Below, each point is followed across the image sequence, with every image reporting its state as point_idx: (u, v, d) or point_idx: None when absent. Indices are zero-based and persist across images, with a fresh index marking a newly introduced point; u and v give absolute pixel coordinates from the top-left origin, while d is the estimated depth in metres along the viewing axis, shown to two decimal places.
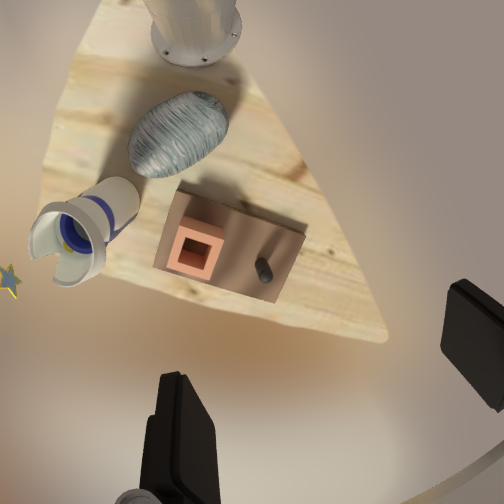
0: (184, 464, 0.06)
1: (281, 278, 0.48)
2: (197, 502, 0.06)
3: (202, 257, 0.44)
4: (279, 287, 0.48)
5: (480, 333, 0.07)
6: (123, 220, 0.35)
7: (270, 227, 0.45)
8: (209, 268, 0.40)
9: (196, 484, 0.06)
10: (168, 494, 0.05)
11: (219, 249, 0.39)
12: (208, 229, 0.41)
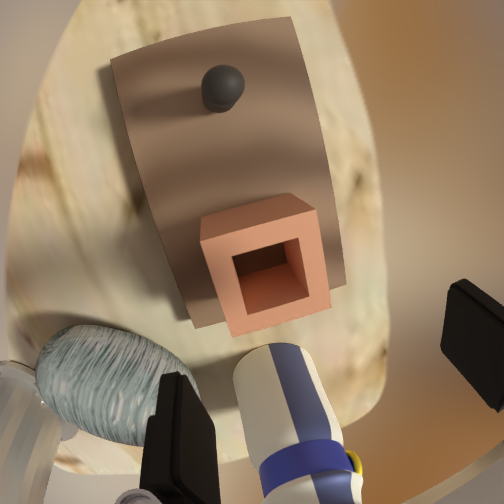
0: (184, 464, 0.06)
1: (228, 35, 0.16)
2: (197, 502, 0.06)
3: None
4: (249, 27, 0.16)
5: (480, 333, 0.07)
6: (279, 418, 0.18)
7: (137, 134, 0.17)
8: (286, 226, 0.15)
9: (196, 484, 0.06)
10: (168, 494, 0.05)
11: (228, 236, 0.15)
12: None
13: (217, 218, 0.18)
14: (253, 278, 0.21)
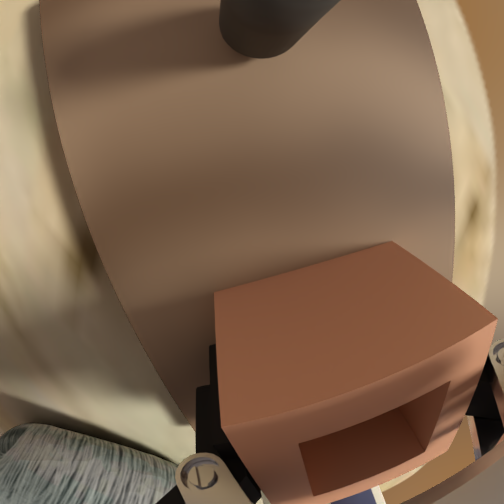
0: None
1: None
2: None
3: None
4: None
5: None
6: None
7: (72, 114, 0.07)
8: (439, 367, 0.05)
9: None
10: (229, 456, 0.06)
11: (300, 413, 0.05)
12: None
13: (253, 310, 0.08)
14: None
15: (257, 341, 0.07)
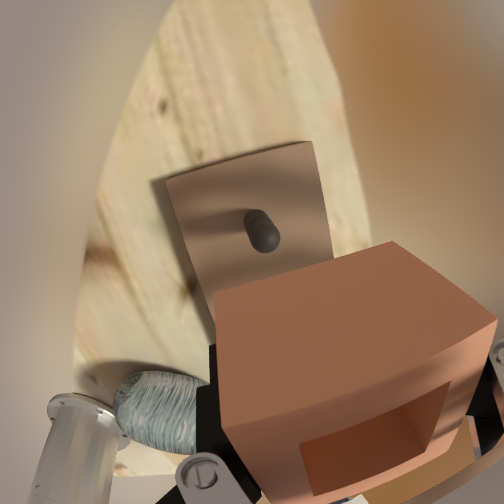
0: None
1: (261, 163, 0.23)
2: None
3: None
4: (278, 154, 0.23)
5: None
6: None
7: (192, 244, 0.25)
8: (440, 368, 0.05)
9: None
10: (229, 456, 0.06)
11: (300, 413, 0.05)
12: None
13: (253, 310, 0.08)
14: None
15: (257, 341, 0.07)
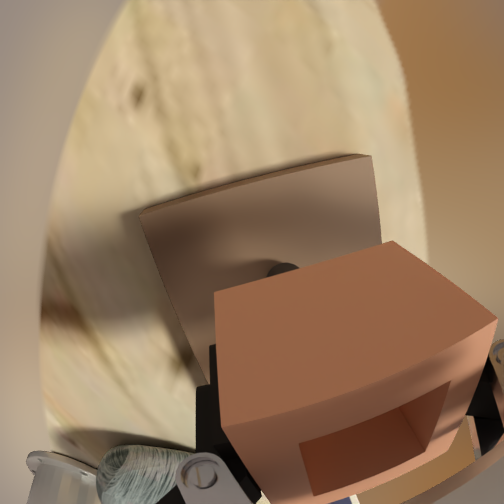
0: None
1: (295, 189, 0.15)
2: None
3: None
4: (322, 175, 0.15)
5: None
6: None
7: (186, 311, 0.16)
8: (440, 367, 0.05)
9: None
10: (229, 456, 0.06)
11: (300, 413, 0.05)
12: None
13: (253, 310, 0.08)
14: None
15: (257, 341, 0.07)
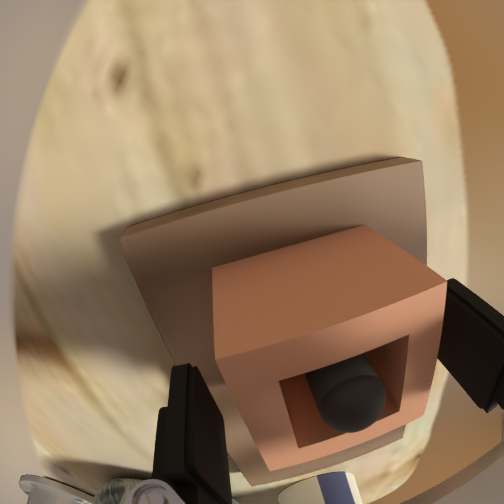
0: (198, 453, 0.06)
1: (329, 202, 0.11)
2: (210, 492, 0.06)
3: None
4: (363, 184, 0.11)
5: (468, 333, 0.07)
6: None
7: (184, 355, 0.12)
8: (394, 319, 0.07)
9: (209, 474, 0.06)
10: (182, 484, 0.05)
11: (277, 348, 0.07)
12: None
13: (244, 278, 0.10)
14: None
15: (246, 300, 0.09)
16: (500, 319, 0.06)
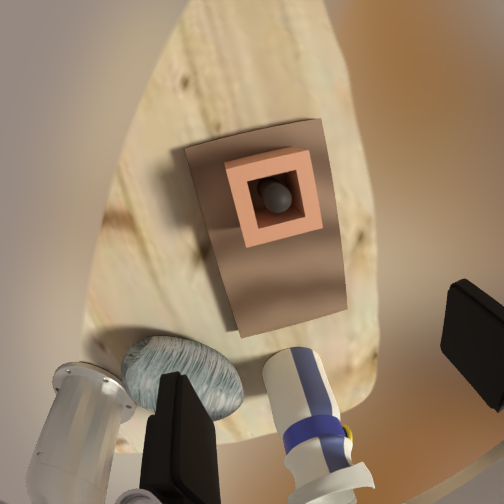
0: (184, 464, 0.06)
1: (274, 136, 0.25)
2: (197, 502, 0.06)
3: None
4: (290, 128, 0.25)
5: (480, 333, 0.07)
6: (298, 399, 0.28)
7: (208, 209, 0.27)
8: (287, 161, 0.21)
9: (196, 484, 0.06)
10: (168, 494, 0.05)
11: (245, 166, 0.21)
12: None
13: (237, 161, 0.24)
14: (263, 211, 0.26)
15: (237, 162, 0.23)
16: None
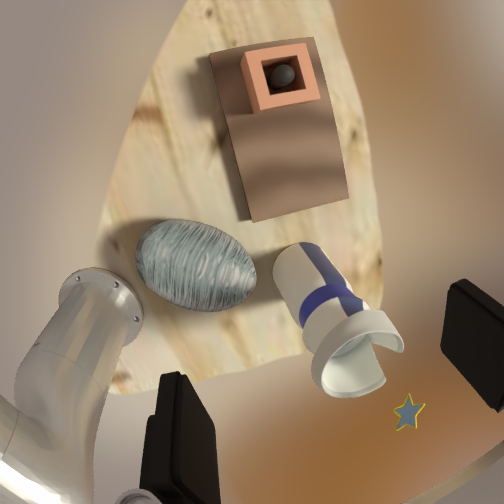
0: (184, 464, 0.06)
1: None
2: (197, 502, 0.06)
3: None
4: (290, 42, 0.28)
5: (480, 333, 0.07)
6: (311, 273, 0.31)
7: (226, 98, 0.30)
8: (290, 49, 0.24)
9: (196, 484, 0.06)
10: (168, 494, 0.05)
11: (259, 50, 0.24)
12: (247, 76, 0.27)
13: None
14: None
15: None
16: None
